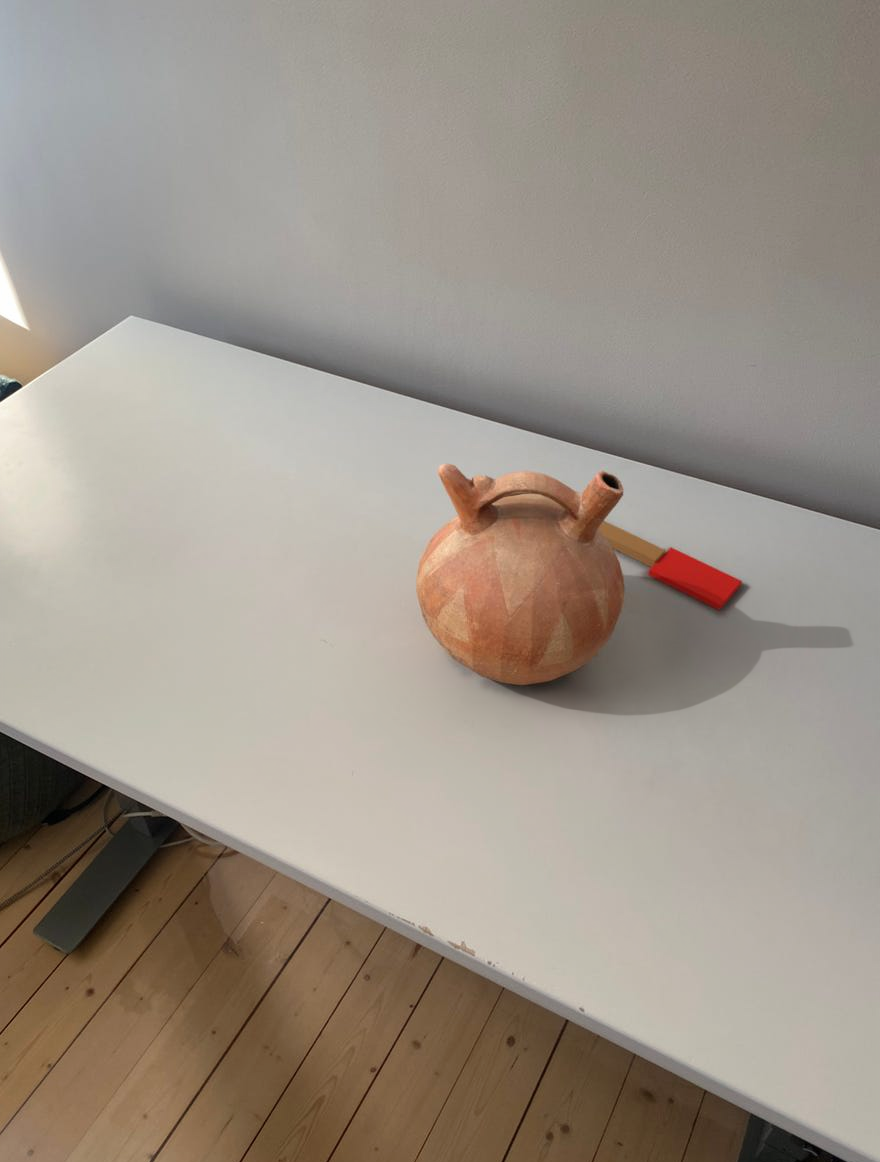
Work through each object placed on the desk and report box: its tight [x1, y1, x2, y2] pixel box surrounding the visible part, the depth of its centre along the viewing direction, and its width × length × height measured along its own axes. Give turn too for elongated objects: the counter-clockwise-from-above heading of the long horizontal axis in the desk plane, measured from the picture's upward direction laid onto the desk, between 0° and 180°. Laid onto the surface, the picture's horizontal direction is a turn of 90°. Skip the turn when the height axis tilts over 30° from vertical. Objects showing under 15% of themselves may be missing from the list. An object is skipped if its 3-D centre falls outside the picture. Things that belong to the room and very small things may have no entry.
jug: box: [415, 463, 626, 686], centre depth 81 cm, size 18×18×20 cm
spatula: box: [598, 520, 743, 611], centre depth 97 cm, size 4×22×1 cm, turn 49°
